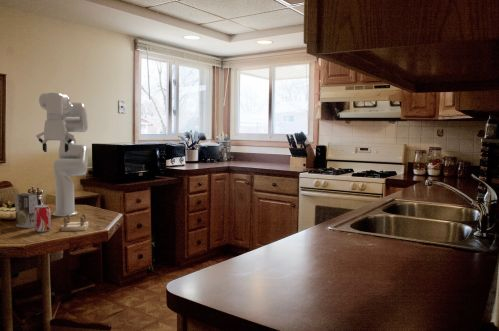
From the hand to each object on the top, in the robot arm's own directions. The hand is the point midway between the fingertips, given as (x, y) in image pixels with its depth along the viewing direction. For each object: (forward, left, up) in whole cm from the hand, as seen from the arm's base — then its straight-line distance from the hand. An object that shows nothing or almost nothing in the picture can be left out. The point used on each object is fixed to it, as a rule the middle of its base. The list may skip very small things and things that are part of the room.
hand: (55, 152), depth 210 cm
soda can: (+14, -4, -37) cm, 40 cm away
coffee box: (+3, -13, -37) cm, 39 cm away
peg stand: (+11, +10, -37) cm, 40 cm away
